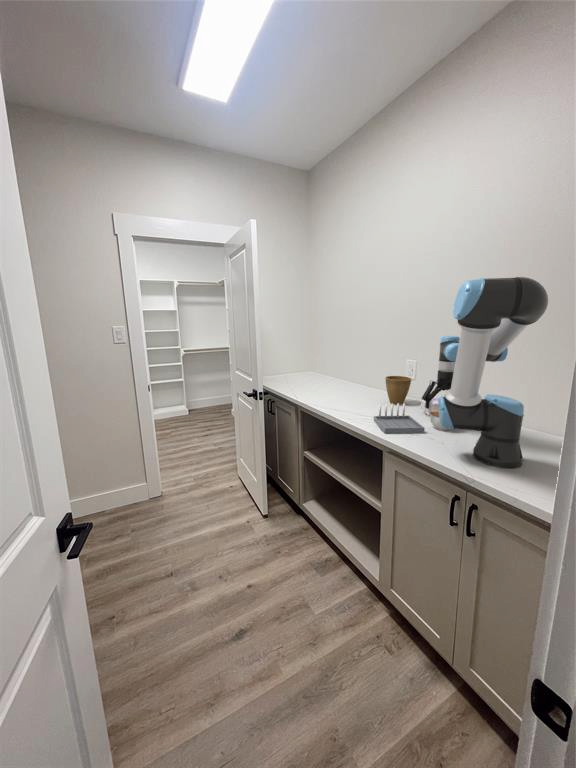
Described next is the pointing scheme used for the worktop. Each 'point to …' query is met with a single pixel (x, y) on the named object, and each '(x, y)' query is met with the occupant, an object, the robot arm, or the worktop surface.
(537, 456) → the worktop surface
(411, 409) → the worktop surface
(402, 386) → the plant pot
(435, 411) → the lidded jar
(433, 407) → the paper bowls
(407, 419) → the dish rack
